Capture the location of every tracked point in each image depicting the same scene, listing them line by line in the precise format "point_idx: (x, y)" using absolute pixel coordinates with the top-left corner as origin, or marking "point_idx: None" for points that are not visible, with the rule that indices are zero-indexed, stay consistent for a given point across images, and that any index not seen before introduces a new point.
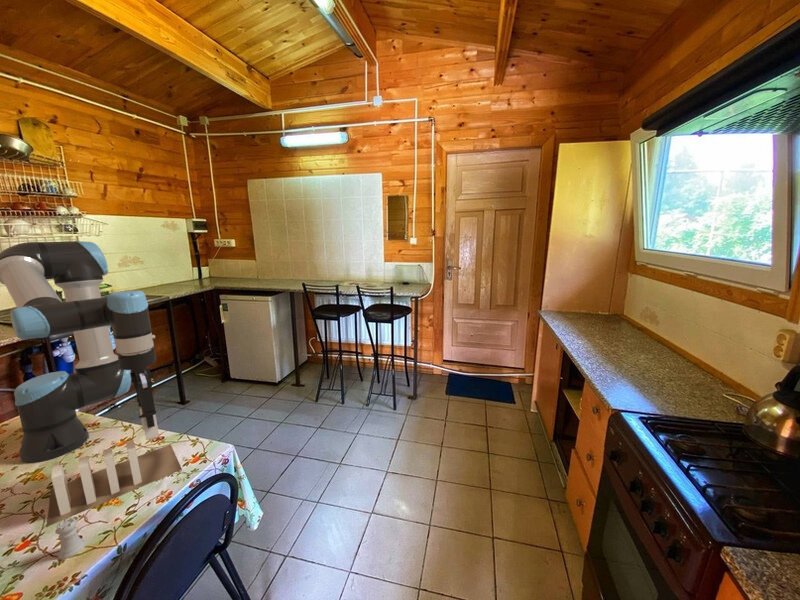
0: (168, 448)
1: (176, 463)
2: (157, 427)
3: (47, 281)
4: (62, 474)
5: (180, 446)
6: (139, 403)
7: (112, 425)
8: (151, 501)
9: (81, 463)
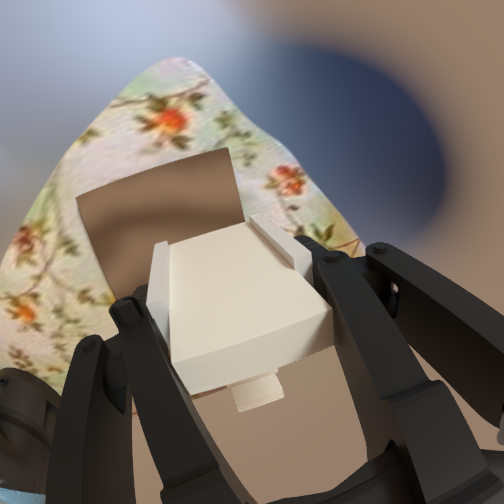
0: (95, 199)
1: (188, 163)
2: (273, 223)
3: None
4: (266, 388)
5: (80, 171)
6: (177, 374)
7: None
8: (289, 204)
9: (257, 376)
